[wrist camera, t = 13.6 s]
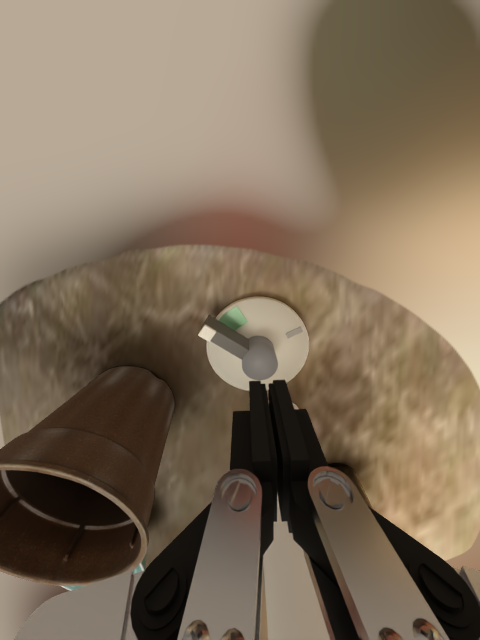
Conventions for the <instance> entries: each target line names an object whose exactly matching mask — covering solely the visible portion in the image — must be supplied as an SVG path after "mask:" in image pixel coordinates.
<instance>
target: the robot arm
mask: <svg viewBox="0 0 480 640" xmlns="http://www.w3.org/2000/svg"><path fill="white" fill-rule="evenodd" d="M249 394H250V411H233V423H232V441H231V460H230V471H228V472H227V473H225V474H224V475H223V476H222V477H221V478H220V480H219V481H218V483H217V485H216V488H215V492H214V496H213V500H212V502H211V503H210V504H209V505H208V506H207V507H206V508H205V509H204V510H203V511H202V512H201V513H200V514H199V515H198V516H197V517H196V518H195V519H194V520H193V521H192V522H191V523H190V524H189V525H188V526H187V527H186V528H185V529H184V530H183V531H182V532H181V533H180V534H179V535H178V536H177V537H176V538H175V539H174V540H173V541H172V542H171V543H170V544H169V545H168V546H167V547H166V548H165V549H164V550H163V551H162V552H161V553H160V554H159V555H158V556H157V557H156V558H155V559H154V560H153V561H152V562H151V563H150V565H149V566H148V567H147V568H146V570H144V571H141V572H138V573H135V574H133V572H132V571H129V572H126V573H123V574H120V575H117V576H114V577H111V578H108V579H105V580H102V581H99V582H96V583H93V584H89V585H86V586H83V587H80V588H77V589H74V590H71V591H68V592H65V593H62V594H59V595H56V596H55V597H53V598H51V599H49V600H47V601H45V602H44V603H43V604H42V605H41V606H39V607H38V608H37V609H36V610H35V611H34V612H33V613H32V614H31V615H30V616H29V618H28V619H27V620H26V622H25V623H24V624H23V625H22V627H21V628H20V630H19V632H18V633H17V635H16V637H15V639H14V640H268V627H267V612H266V596H265V581H264V565H263V561H264V554H265V552H266V551H267V549H268V548H269V546H270V545H271V543H272V542H273V540H274V522H277V493H278V501H279V508H280V515H281V521H282V522H284V521H287V524H288V530H289V533H292V534H293V540H294V541H295V542H296V543H297V544H298V545H299V546H300V547H301V548H302V549H303V552H304V557H305V560H306V563H307V567H308V570H309V573H310V576H311V580H312V583H313V586H314V589H315V592H316V596H317V599H318V602H319V605H320V609H321V612H322V615H323V618H324V622H325V625H326V628H327V631H328V634H329V638H330V640H480V570H476V569H472V568H468V567H465V566H462V568H461V570H460V569H456V568H453V567H451V566H450V565H449V564H448V563H446V562H445V561H444V560H443V559H442V558H440V557H439V556H437V555H436V554H435V553H433V552H432V551H430V550H429V549H428V548H426V547H425V546H423V545H422V544H421V543H419V542H418V541H416V540H415V539H414V538H412V537H411V536H409V535H408V534H407V533H405V532H404V531H402V530H401V529H400V528H398V527H397V526H395V525H394V524H393V523H391V522H390V521H388V520H387V519H386V518H384V517H383V516H381V515H380V514H379V513H377V512H376V511H374V510H373V509H372V508H370V507H369V506H367V504H366V502H365V501H364V499H363V497H362V496H361V494H360V493H359V491H358V489H357V488H356V486H355V484H354V483H353V482H352V481H351V479H350V478H349V477H348V476H347V475H345V474H344V473H343V472H341V471H339V470H338V469H336V468H332V467H328V465H327V462H326V459H325V457H324V454H323V452H322V449H321V446H320V444H319V441H318V438H317V436H316V433H315V431H314V428H313V425H312V423H311V420H310V418H309V415H308V412H307V410H306V409H294V407H293V403H292V400H291V397H290V394H289V391H288V387H287V384H286V381H285V380H273V383H269V404H268V398H267V391H266V385H265V384H261V381H249Z"/></svg>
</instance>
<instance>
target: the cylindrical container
mask: <svg viewBox="0 0 480 640" xmlns="http://www.w3.org/2000/svg"><path fill="white" fill-rule="evenodd" d="M292 403H293V402H292ZM268 404H269V400H268ZM293 407H294V409H299V408H298V407H297V406H296V405H295V404H294V403H293ZM263 565H264V581H265V596H266V612H267V627H268V640H330V638H329V634H328V631H327V628H326V625H325V622H324V618H323V615H322V612H321V609H320V605H319V602H318V599H317V596H316V592H315V589H314V586H313V583H312V580H311V576H310V573H309V570H308V567H307V563H306V560H305V557H304V552H303V549H302V548H301V547H300V546H299V545H298V544H297V543H296V542H295V541H294V540H293V534H292V533H289V530H288V524H287V521H284V522H282V521H281V515H280V508H279V501H278V493H277V522H274V540H273V542H272V543H271V545H270V546H269V548H268V549H267V551H266V552H265V554H264V561H263Z"/></svg>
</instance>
